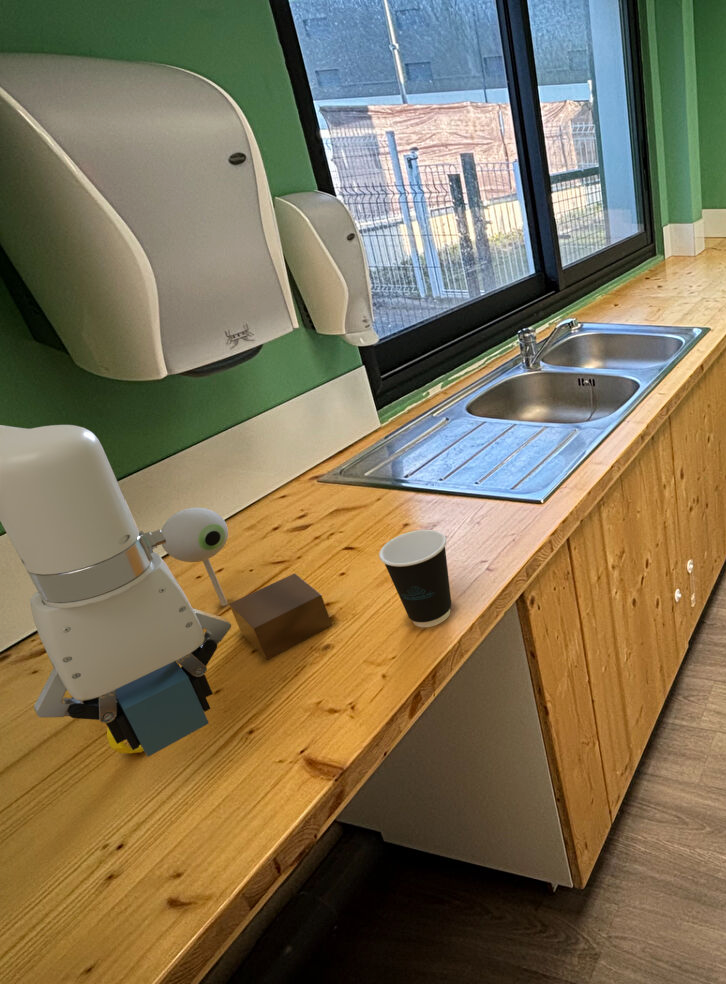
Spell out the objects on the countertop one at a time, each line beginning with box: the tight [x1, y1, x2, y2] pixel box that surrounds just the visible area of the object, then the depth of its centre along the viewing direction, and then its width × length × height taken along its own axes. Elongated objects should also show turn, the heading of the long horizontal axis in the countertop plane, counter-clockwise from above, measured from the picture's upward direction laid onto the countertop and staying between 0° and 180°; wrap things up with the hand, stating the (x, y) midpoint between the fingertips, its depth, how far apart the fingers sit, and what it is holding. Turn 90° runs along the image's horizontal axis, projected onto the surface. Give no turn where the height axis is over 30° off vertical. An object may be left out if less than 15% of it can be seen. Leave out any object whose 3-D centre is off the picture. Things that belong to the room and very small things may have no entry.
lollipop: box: [160, 507, 229, 607], centre depth 93 cm, size 7×7×15 cm
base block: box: [228, 572, 333, 661], centre depth 90 cm, size 8×8×5 cm
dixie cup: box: [378, 529, 452, 628], centre depth 90 cm, size 8×8×11 cm
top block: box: [116, 661, 210, 757], centre depth 67 cm, size 5×5×6 cm
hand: (167, 720), depth 68 cm, fingers closed on top block, 5 cm apart
